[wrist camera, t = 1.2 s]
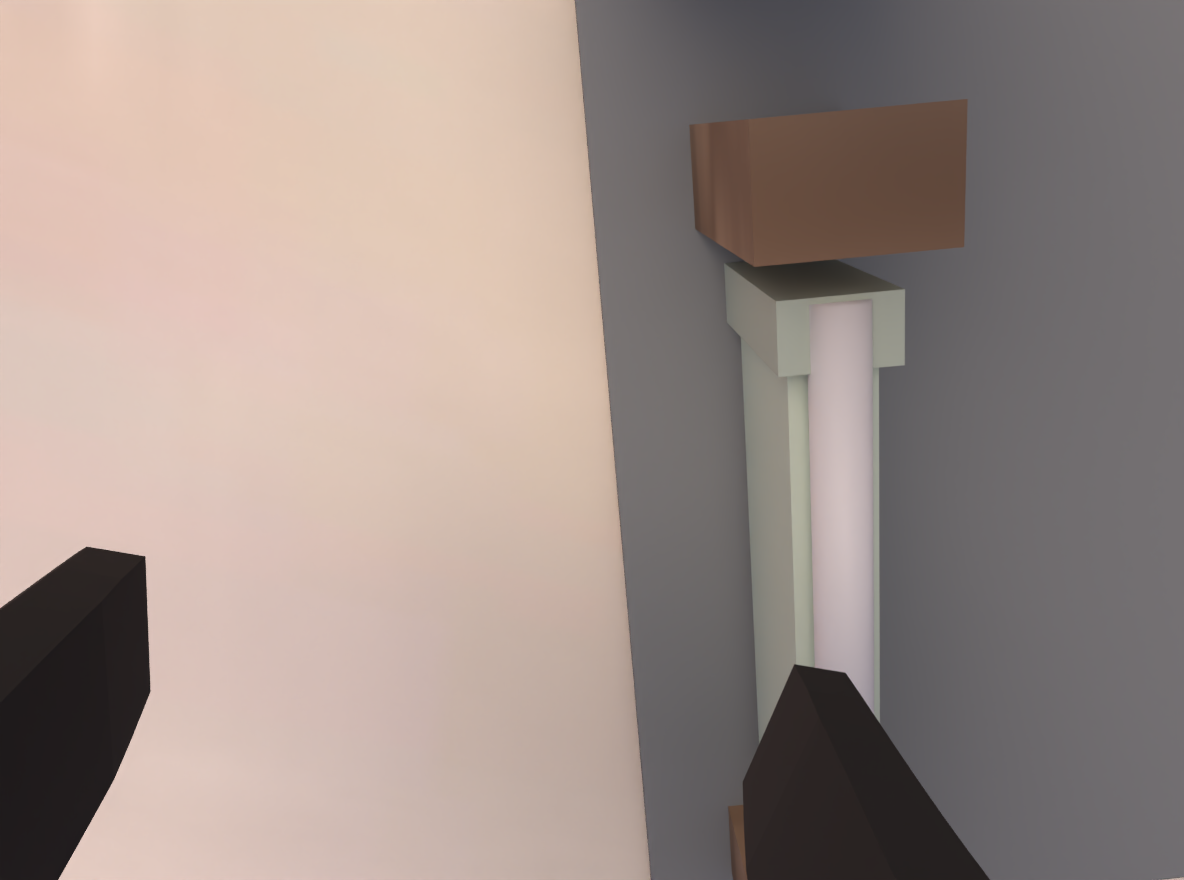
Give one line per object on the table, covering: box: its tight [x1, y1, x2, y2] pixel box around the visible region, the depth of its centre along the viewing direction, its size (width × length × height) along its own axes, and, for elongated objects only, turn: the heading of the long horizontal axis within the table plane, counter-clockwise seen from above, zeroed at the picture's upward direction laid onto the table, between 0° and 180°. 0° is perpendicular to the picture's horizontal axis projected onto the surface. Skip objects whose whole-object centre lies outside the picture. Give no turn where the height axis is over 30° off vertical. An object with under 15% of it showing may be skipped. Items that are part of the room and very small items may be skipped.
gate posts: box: [689, 99, 968, 880], centre depth 19 cm, size 18×3×6 cm, turn 5°
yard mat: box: [575, 0, 1184, 880], centre depth 22 cm, size 22×19×1 cm
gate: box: [724, 259, 905, 743], centre depth 19 cm, size 12×2×5 cm, turn 5°
